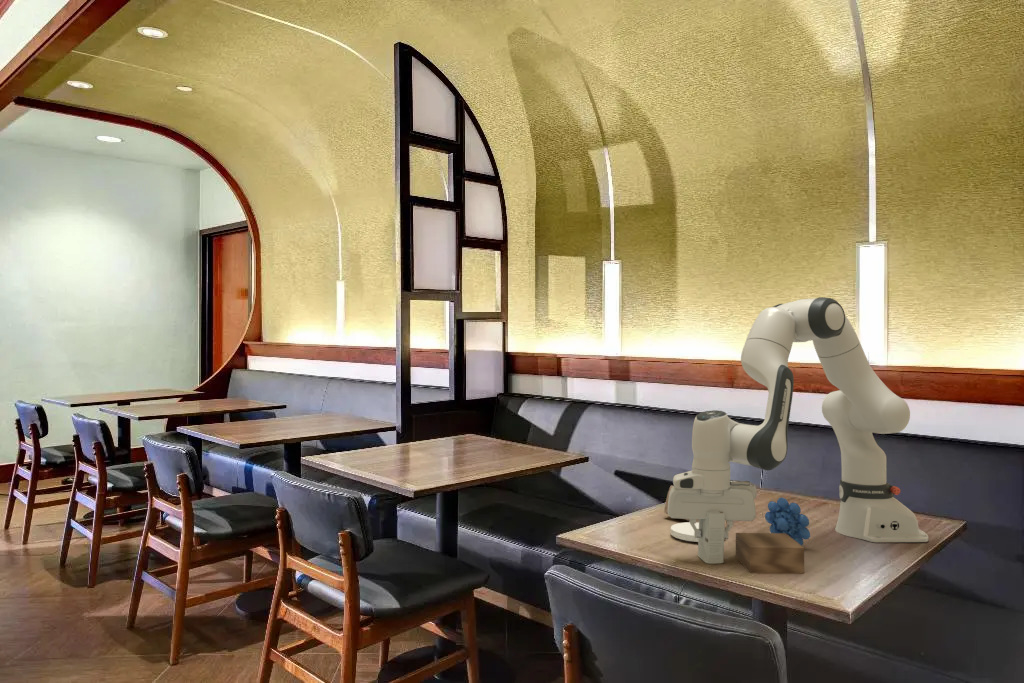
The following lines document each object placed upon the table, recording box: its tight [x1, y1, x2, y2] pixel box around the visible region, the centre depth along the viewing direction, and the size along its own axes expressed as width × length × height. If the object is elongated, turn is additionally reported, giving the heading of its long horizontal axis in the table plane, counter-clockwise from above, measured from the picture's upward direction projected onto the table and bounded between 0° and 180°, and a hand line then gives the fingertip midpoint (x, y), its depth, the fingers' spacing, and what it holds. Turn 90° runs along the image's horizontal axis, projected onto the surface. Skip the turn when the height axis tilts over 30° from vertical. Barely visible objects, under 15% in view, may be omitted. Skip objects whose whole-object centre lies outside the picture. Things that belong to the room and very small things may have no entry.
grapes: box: [764, 497, 811, 546], centre depth 183 cm, size 12×7×12 cm, turn 46°
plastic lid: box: [670, 521, 699, 543], centre depth 192 cm, size 14×14×2 cm
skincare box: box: [697, 511, 726, 565], centre depth 172 cm, size 6×4×12 cm
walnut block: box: [735, 532, 805, 574], centre depth 169 cm, size 12×12×6 cm
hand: (711, 537), depth 172 cm, fingers closed on skincare box, 5 cm apart
